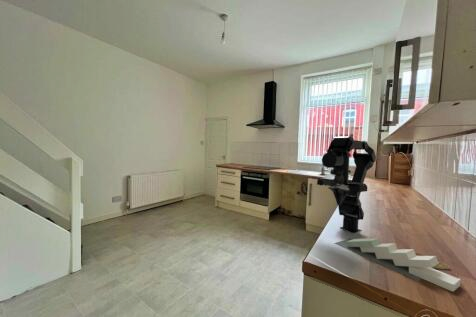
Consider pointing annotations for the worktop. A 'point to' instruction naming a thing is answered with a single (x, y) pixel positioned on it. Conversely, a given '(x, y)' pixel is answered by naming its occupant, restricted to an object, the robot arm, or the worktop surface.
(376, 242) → the sage domino
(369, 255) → the mat
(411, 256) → the ivory domino
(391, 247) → the ivory domino
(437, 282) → the ivory domino
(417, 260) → the ivory domino
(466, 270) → the worktop surface
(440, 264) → the shard
